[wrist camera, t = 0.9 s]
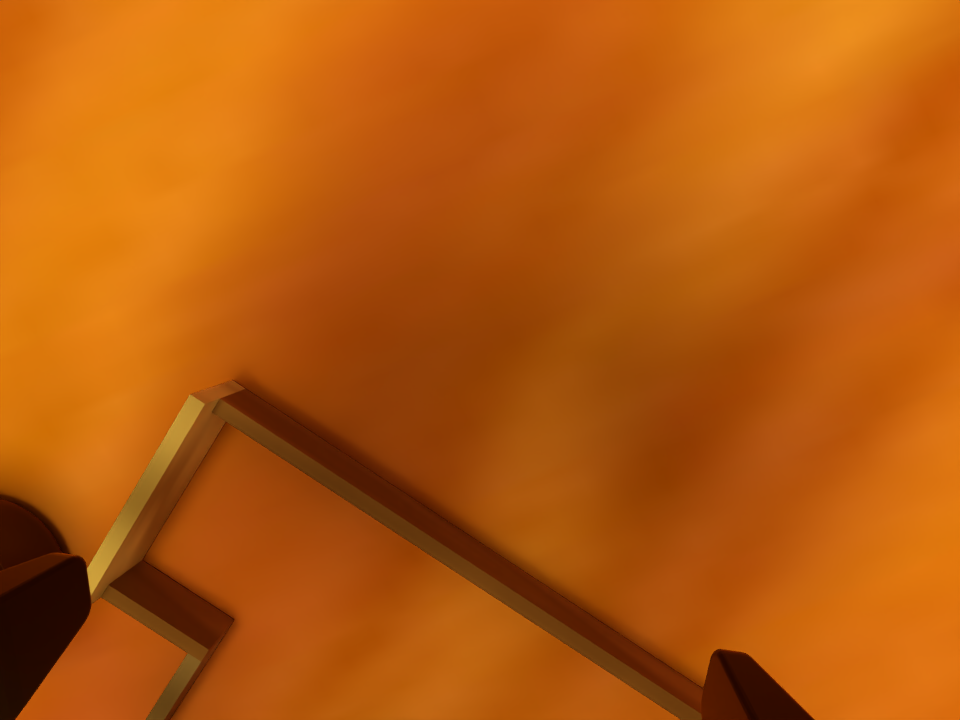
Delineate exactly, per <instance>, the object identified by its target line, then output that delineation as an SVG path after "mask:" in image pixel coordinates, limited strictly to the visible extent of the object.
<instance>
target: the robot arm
mask: <svg viewBox="0 0 960 720" xmlns="http://www.w3.org/2000/svg"><path fill="white" fill-rule="evenodd" d="M91 604H92V602H91V593H90V586H89V579H88V572H87V566H86V562H85V561H84V559H83V558H82V557H80V556H77V555H71V554H64V553H50V554H47V555H44V556H41V557H38V558H36V559H33V560H30V561H27V562H24V563H22V564H19V565H16V566H13V567H10V568H8V569H5V570H2V571H0V720H15V719H16V718H17V716H18V715H19V713H20V712H21V711H22V709H23V708H24V707H25V705H26V704H27V703H28V701H29V700H30V698H31V697H32V696H33V694H34V693H35V691H36V690H37V689H38V687H39V686H40V684H41V683H42V682H43V680H44V679H45V677H46V676H47V675H48V673H49V672H50V670H51V669H52V668H53V666H54V665H55V663H56V662H57V660H58V659H59V658H60V656H61V655H62V653H63V652H64V651H65V649H66V648H67V646H68V645H69V644H70V642H71V641H72V639H73V638H74V637H75V635H76V634H77V632H78V631H79V630H80V628H81V627H82V625H83V624H84V623H85V621H86V619H87V617H88V615H89V613H90V609H91ZM701 716H702V720H815V719H813V718H812V717H811V716H810V715H809V714H808V713H807V712H806V711H805V710H804V709H803V708H802V707H801V706H800V705H799V704H798V703H797V702H796V701H795V700H794V699H793V698H792V697H791V696H790V695H789V694H788V693H787V692H786V691H785V690H784V689H783V688H782V687H781V686H780V685H779V684H778V683H777V682H776V681H775V680H774V679H773V678H772V677H771V676H770V675H769V674H768V673H767V672H766V671H765V670H764V669H763V668H762V667H761V666H760V665H759V664H758V663H757V662H756V661H755V660H754V659H753V658H752V657H750V656H749V655H748V654H746V653H743V652H736V651H730V650H723V649H718V650H716V651H714V652H713V654H712V656H711V659H710V663H709V668H708V672H707V676H706V680H705V684H704V689H703V693H702V698H701Z"/></svg>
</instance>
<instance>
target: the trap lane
mask: <svg viewBox="0 0 960 720" xmlns="http://www.w3.org/2000/svg"><path fill="white" fill-rule="evenodd" d="M225 422H227V423H229V424H230V425H232V426H233V427H235V428H237V429H238V430H240V431H241V432H243V433H244V434H246V435H247V436H249V437H250V438H252V439H253V440H255V441H256V442H258V443H259V444H261V445H262V446H264V447H266V448H267V449H269V450H270V451H272V452H273V453H275V454H276V455H278V456H279V457H281V458H282V459H284V460H285V461H287V462H288V463H290V464H292V465H293V466H295V467H296V468H298V469H299V470H301V471H302V472H304V473H305V474H307V475H308V476H310V477H311V478H313V479H314V480H316V481H317V482H319V483H321V484H322V485H324V486H325V487H327V488H328V489H330V490H331V491H333V492H334V493H336V494H337V495H339V496H340V497H342V498H343V499H345V500H346V501H348V502H350V503H351V504H353V505H354V506H356V507H357V508H359V509H360V510H362V511H363V512H365V513H366V514H368V515H369V516H371V517H372V518H374V519H375V520H377V521H379V522H380V523H382V524H383V525H385V526H386V527H388V528H389V529H391V530H392V531H394V532H395V533H397V534H398V535H400V536H401V537H403V538H405V539H406V540H408V541H409V542H411V543H412V544H414V545H415V546H417V547H418V548H420V549H421V550H423V551H424V552H426V553H427V554H429V555H430V556H432V557H434V558H435V559H437V560H438V561H440V562H441V563H443V564H444V565H446V566H447V567H449V568H450V569H452V570H453V571H455V572H456V573H458V574H459V575H461V576H463V577H464V578H466V579H467V580H469V581H470V582H472V583H473V584H475V585H476V586H478V587H479V588H481V589H482V590H484V591H485V592H487V593H488V594H490V595H492V596H493V597H495V598H496V599H498V600H499V601H501V602H502V603H504V604H505V605H507V606H508V607H510V608H511V609H513V610H514V611H516V612H518V613H519V614H521V615H522V616H524V617H525V618H527V619H528V620H530V621H531V622H533V623H534V624H536V625H537V626H539V627H540V628H542V629H543V630H545V631H547V632H548V633H550V634H551V635H553V636H554V637H556V638H557V639H559V640H560V641H562V642H563V643H565V644H566V645H568V646H569V647H571V648H572V649H574V650H576V651H577V652H579V653H580V654H582V655H583V656H585V657H586V658H588V659H589V660H591V661H592V662H594V663H595V664H597V665H598V666H600V667H601V668H603V669H605V670H606V671H608V672H609V673H611V674H612V675H614V676H615V677H617V678H618V679H620V680H621V681H623V682H624V683H626V684H627V685H629V686H631V687H632V688H634V689H635V690H637V691H638V692H640V693H641V694H643V695H644V696H646V697H647V698H649V699H650V700H652V701H653V702H655V703H656V704H658V705H660V706H661V707H663V708H664V709H666V710H667V711H669V712H670V713H672V714H673V715H675V716H676V717H678V718H679V719H681V720H702V716H701V698H702V693H703V689H702V688H701V687H699V686H698V685H696V684H695V683H693V682H692V681H690V680H689V679H687V678H685V677H684V676H682V675H681V674H679V673H678V672H676V671H675V670H673V669H672V668H670V667H669V666H667V665H666V664H664V663H663V662H661V661H660V660H658V659H657V658H655V657H654V656H652V655H650V654H649V653H647V652H646V651H644V650H643V649H641V648H640V647H638V646H637V645H635V644H634V643H632V642H631V641H629V640H628V639H626V638H625V637H623V636H622V635H620V634H618V633H617V632H615V631H614V630H612V629H611V628H609V627H608V626H606V625H605V624H603V623H602V622H600V621H599V620H597V619H596V618H594V617H593V616H591V615H590V614H588V613H586V612H585V611H583V610H582V609H580V608H579V607H577V606H576V605H574V604H573V603H571V602H570V601H568V600H567V599H565V598H564V597H562V596H561V595H559V594H558V593H556V592H554V591H553V590H551V589H550V588H548V587H547V586H545V585H544V584H542V583H541V582H539V581H538V580H536V579H535V578H533V577H532V576H530V575H529V574H527V573H526V572H524V571H523V570H521V569H519V568H518V567H516V566H515V565H513V564H512V563H510V562H509V561H507V560H506V559H504V558H503V557H501V556H500V555H498V554H497V553H495V552H494V551H492V550H491V549H489V548H487V547H486V546H484V545H483V544H481V543H480V542H478V541H477V540H475V539H474V538H472V537H471V536H469V535H468V534H466V533H465V532H463V531H462V530H460V529H459V528H457V527H455V526H454V525H452V524H451V523H449V522H448V521H446V520H445V519H443V518H442V517H440V516H439V515H437V514H436V513H434V512H433V511H431V510H430V509H428V508H427V507H425V506H424V505H422V504H420V503H419V502H417V501H416V500H414V499H413V498H411V497H410V496H408V495H407V494H405V493H404V492H402V491H401V490H399V489H398V488H396V487H395V486H393V485H392V484H390V483H388V482H387V481H385V480H384V479H382V478H381V477H379V476H378V475H376V474H375V473H373V472H372V471H370V470H369V469H367V468H366V467H364V466H363V465H361V464H360V463H358V462H356V461H355V460H353V459H352V458H350V457H349V456H347V455H346V454H344V453H343V452H341V451H340V450H338V449H337V448H335V447H334V446H332V445H331V444H329V443H328V442H326V441H325V440H323V439H321V438H320V437H318V436H317V435H315V434H314V433H312V432H311V431H309V430H308V429H306V428H305V427H303V426H302V425H300V424H299V423H297V422H296V421H294V420H293V419H291V418H289V417H288V416H286V415H285V414H283V413H282V412H280V411H279V410H277V409H276V408H274V407H273V406H271V405H270V404H268V403H267V402H265V401H264V400H262V399H261V398H259V397H257V396H256V395H254V394H253V393H251V392H250V391H248V390H247V389H245V388H244V387H242V386H241V385H239V384H238V383H236V382H235V381H233V380H232V381H229V382H226V383H223V384H220V385H217V386H214V387H211V388H208V389H205V390H202V391H199V392H196V393H193V394H190V395H189V397H188V399H187V400H186V402H185V404H184V405H183V407H182V409H181V410H180V412H179V414H178V416H177V417H176V419H175V421H174V422H173V424H172V426H171V427H170V429H169V431H168V433H167V434H166V436H165V438H164V439H163V441H162V443H161V444H160V446H159V448H158V450H157V451H156V453H155V455H154V456H153V458H152V460H151V461H150V463H149V465H148V466H147V468H146V470H145V472H144V473H143V475H142V477H141V478H140V480H139V482H138V483H137V485H136V487H135V489H134V490H133V492H132V494H131V495H130V497H129V499H128V500H127V502H126V504H125V506H124V507H123V509H122V511H121V512H120V514H119V516H118V517H117V519H116V521H115V523H114V524H113V526H112V528H111V529H110V531H109V533H108V534H107V536H106V538H105V539H104V541H103V543H102V545H101V546H100V548H99V550H98V551H97V553H96V555H95V556H94V558H93V560H92V562H91V563H90V565H89V567H88V568H87V572H88V579H89V586H90V593H91V602H92V603H94V602H95V601H96V600H98V599H99V598H100V597H102V598H103V599H105V600H106V601H108V602H109V603H111V604H112V605H114V606H116V607H117V608H119V609H120V610H122V611H123V612H125V613H126V614H128V615H129V616H131V617H133V618H134V619H136V620H137V621H139V622H140V623H142V624H143V625H145V626H147V627H148V628H150V629H151V630H153V631H154V632H156V633H157V634H159V635H160V636H162V637H164V638H165V639H167V640H168V641H170V642H171V643H173V644H174V645H176V646H178V647H179V648H181V649H182V650H184V651H185V652H187V653H188V654H187V655H186V657H185V659H184V660H183V662H182V663H181V665H180V666H179V668H178V670H177V671H176V673H175V674H174V676H173V677H172V679H171V681H170V682H169V684H168V685H167V687H166V688H165V690H164V692H163V693H162V695H161V696H160V698H159V699H158V701H157V703H156V704H155V706H154V707H153V709H152V710H151V712H150V714H149V715H148V717H147V718H146V720H170V719H171V717H172V716H173V714H174V713H175V711H176V710H177V708H178V707H179V705H180V703H181V702H182V700H183V699H184V697H185V696H186V694H187V693H188V691H189V689H190V688H191V686H192V685H193V683H194V682H195V680H196V679H197V677H198V675H199V674H200V672H201V671H202V669H203V668H204V666H205V665H206V663H207V662H208V660H209V658H210V657H211V655H212V654H213V652H214V651H215V649H216V648H217V646H218V644H219V643H220V641H221V640H222V638H223V637H224V635H225V634H226V632H227V630H228V629H229V627H230V626H231V624H232V623H233V621H234V619H232V618H231V617H229V616H228V615H226V614H224V613H223V612H221V611H220V610H218V609H217V608H215V607H214V606H212V605H211V604H209V603H207V602H206V601H204V600H203V599H201V598H200V597H198V596H197V595H195V594H194V593H192V592H191V591H189V590H187V589H186V588H184V587H183V586H181V585H180V584H178V583H177V582H175V581H174V580H172V579H170V578H169V577H167V576H166V575H164V574H163V573H161V572H160V571H158V570H157V569H155V568H153V567H152V566H150V565H149V564H147V563H146V562H144V561H143V560H142V559H143V558H144V556H145V554H146V553H147V551H148V549H149V548H150V546H151V544H152V543H153V541H154V540H155V538H156V536H157V535H158V533H159V531H160V530H161V528H162V526H163V525H164V523H165V521H166V520H167V518H168V516H169V515H170V513H171V511H172V510H173V508H174V506H175V505H176V503H177V501H178V500H179V498H180V497H181V495H182V493H183V492H184V490H185V488H186V487H187V485H188V483H189V482H190V480H191V478H192V477H193V475H194V473H195V472H196V470H197V468H198V467H199V465H200V463H201V462H202V460H203V458H204V457H205V455H206V453H207V452H208V450H209V449H210V447H211V445H212V444H213V442H214V440H215V439H216V437H217V435H218V434H219V432H220V430H221V429H222V427H223V425H224V424H225Z"/></svg>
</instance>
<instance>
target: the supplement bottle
mask: <svg viewBox="0 0 960 720" xmlns="http://www.w3.org/2000/svg"><path fill="white" fill-rule="evenodd" d="M50 553H62V551H61V549H60V547H59V545H58V543H57V541H56V539H55V538H54V536H53V535H52V533H51V532H50V531H49V529H48V528H47V527H46V526H45V525H44V524H43V523H42V522H41V521H40V520H39V519H38V518H37V517H36V516H35V515H33V514H32V513H30V512H29V511H28V510H26V509H24V508H23V507H21V506H19V505H17V504H14V503H12V502H9V501H6V500H3V499H0V571H2V570H5V569H8V568H10V567H13V566H16V565H19V564H22V563H24V562H27V561H30V560H33V559H36V558H38V557H41V556H44V555H47V554H50Z"/></svg>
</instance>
